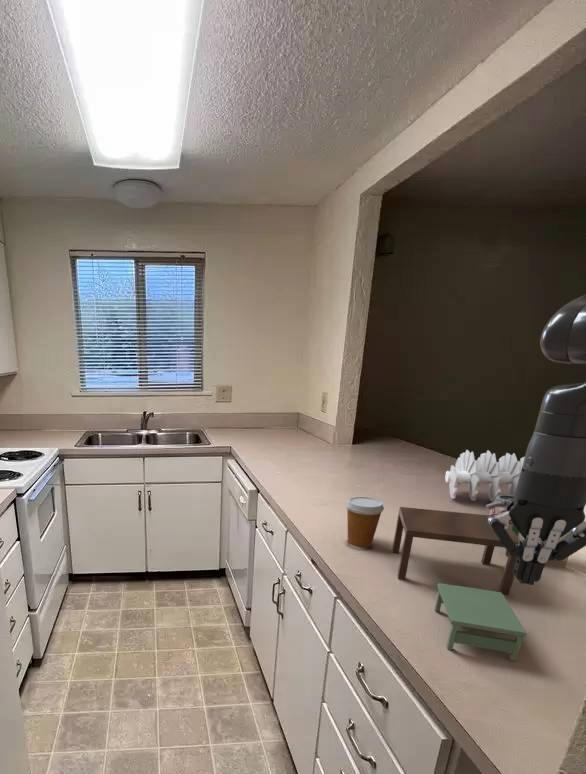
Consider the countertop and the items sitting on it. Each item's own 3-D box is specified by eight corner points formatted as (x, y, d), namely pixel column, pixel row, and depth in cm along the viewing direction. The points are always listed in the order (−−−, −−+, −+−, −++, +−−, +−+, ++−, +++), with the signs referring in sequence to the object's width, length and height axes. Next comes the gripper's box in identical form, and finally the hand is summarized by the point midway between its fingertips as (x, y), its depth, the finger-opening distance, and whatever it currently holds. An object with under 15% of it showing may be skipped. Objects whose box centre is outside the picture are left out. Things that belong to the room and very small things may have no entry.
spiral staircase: (439, 504, 159) (520, 507, 152) (453, 498, 143) (544, 502, 135) (440, 455, 161) (520, 456, 153) (454, 444, 144) (545, 444, 136)
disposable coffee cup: (377, 551, 115) (384, 509, 111) (339, 545, 119) (344, 504, 115) (378, 538, 123) (384, 498, 119) (343, 533, 127) (348, 494, 123)
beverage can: (472, 533, 125) (482, 494, 121) (493, 529, 127) (503, 491, 123) (504, 546, 117) (515, 505, 113) (526, 542, 119) (538, 501, 115)
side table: (488, 562, 109) (500, 516, 104) (508, 595, 94) (524, 543, 90) (391, 550, 116) (399, 506, 111) (398, 579, 102) (406, 530, 97)
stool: (494, 618, 87) (501, 592, 85) (518, 663, 74) (527, 634, 72) (432, 608, 90) (437, 583, 88) (445, 649, 78) (452, 621, 76)
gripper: (606, 463, 58) (568, 576, 64) (491, 457, 63) (465, 563, 69) (639, 478, 52) (593, 603, 58) (508, 470, 56) (478, 586, 62)
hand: (524, 581), depth 63 cm, fingers closed
